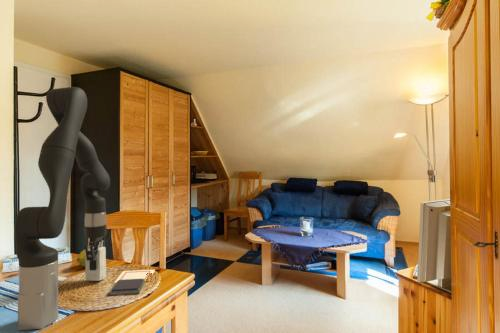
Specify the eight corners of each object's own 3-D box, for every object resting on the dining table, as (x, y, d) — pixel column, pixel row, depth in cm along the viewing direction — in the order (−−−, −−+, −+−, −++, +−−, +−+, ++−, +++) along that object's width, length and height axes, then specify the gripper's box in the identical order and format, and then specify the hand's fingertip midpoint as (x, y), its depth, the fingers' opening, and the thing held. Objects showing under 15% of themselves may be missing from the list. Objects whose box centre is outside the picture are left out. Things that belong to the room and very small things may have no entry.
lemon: (94, 261, 136) (94, 244, 136) (105, 264, 132) (105, 246, 132) (71, 268, 127) (70, 250, 126) (81, 271, 123) (81, 253, 123)
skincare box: (106, 276, 115) (106, 246, 115) (99, 281, 111) (99, 249, 111) (92, 276, 116) (91, 246, 116) (84, 280, 112) (84, 249, 112)
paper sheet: (149, 281, 113) (149, 280, 113) (114, 283, 111) (114, 282, 111) (154, 270, 125) (154, 269, 125) (123, 271, 123) (123, 270, 123)
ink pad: (139, 293, 102) (139, 288, 102) (109, 295, 101) (109, 290, 101) (145, 282, 112) (145, 277, 112) (117, 283, 111) (117, 279, 111)
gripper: (99, 227, 107) (99, 273, 107) (111, 220, 121) (111, 261, 121) (77, 228, 106) (77, 274, 106) (92, 220, 120) (92, 262, 120)
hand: (95, 267), depth 114 cm, fingers closed on skincare box, 5 cm apart
